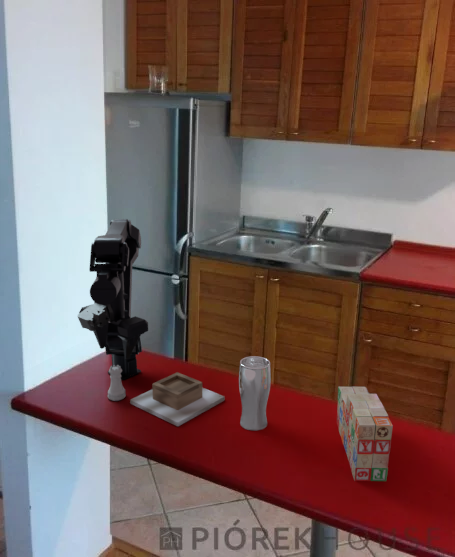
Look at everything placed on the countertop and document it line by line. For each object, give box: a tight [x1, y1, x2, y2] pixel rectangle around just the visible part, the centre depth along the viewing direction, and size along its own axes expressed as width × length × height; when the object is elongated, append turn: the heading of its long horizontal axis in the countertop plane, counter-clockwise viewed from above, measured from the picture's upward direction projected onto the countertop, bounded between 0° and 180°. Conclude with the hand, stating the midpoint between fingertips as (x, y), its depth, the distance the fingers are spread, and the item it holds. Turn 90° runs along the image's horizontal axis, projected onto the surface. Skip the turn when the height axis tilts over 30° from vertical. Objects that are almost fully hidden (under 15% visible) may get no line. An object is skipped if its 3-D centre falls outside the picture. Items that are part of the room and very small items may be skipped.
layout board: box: [129, 371, 226, 427], centre depth 137 cm, size 16×16×5 cm
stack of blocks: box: [336, 386, 394, 482], centre depth 117 cm, size 21×6×12 cm, turn 179°
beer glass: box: [238, 355, 272, 432], centre depth 127 cm, size 7×7×15 cm
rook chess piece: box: [107, 365, 127, 402], centre depth 139 cm, size 4×4×8 cm
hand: (114, 353), depth 137 cm, fingers open, 9 cm apart
